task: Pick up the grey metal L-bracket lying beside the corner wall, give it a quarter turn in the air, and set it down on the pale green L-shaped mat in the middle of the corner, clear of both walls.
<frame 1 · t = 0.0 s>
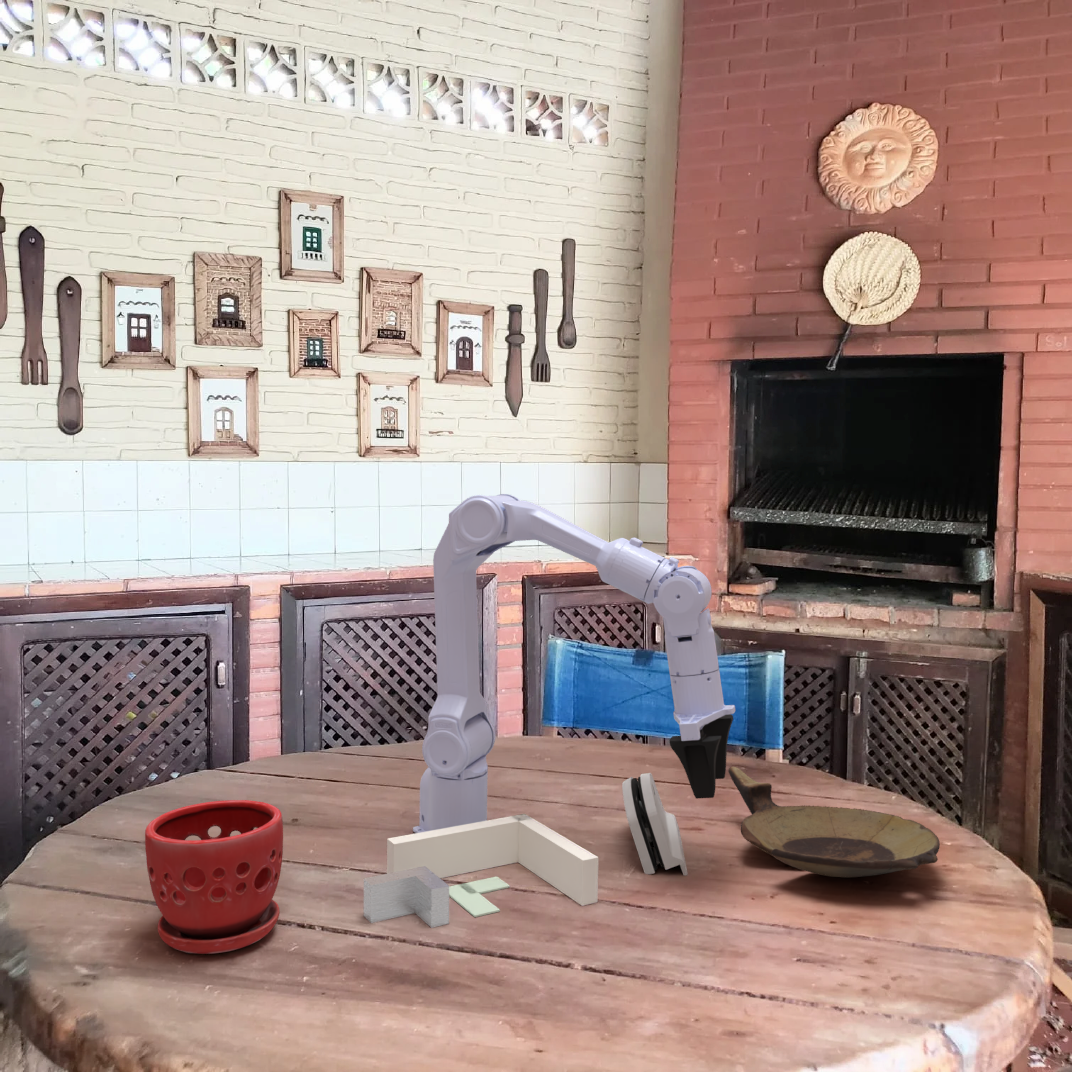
hand: (710, 787, 118), 11 cm above the table, tool pointing down, fingers open, 7 cm apart
bracket: (398, 912, 108), on the table
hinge: (651, 851, 127), on the table
plant pot: (215, 936, 102), on the table
corner wall: (490, 891, 113), on the table
brown frying pan: (826, 861, 125), on the table
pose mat: (470, 900, 111), on the table
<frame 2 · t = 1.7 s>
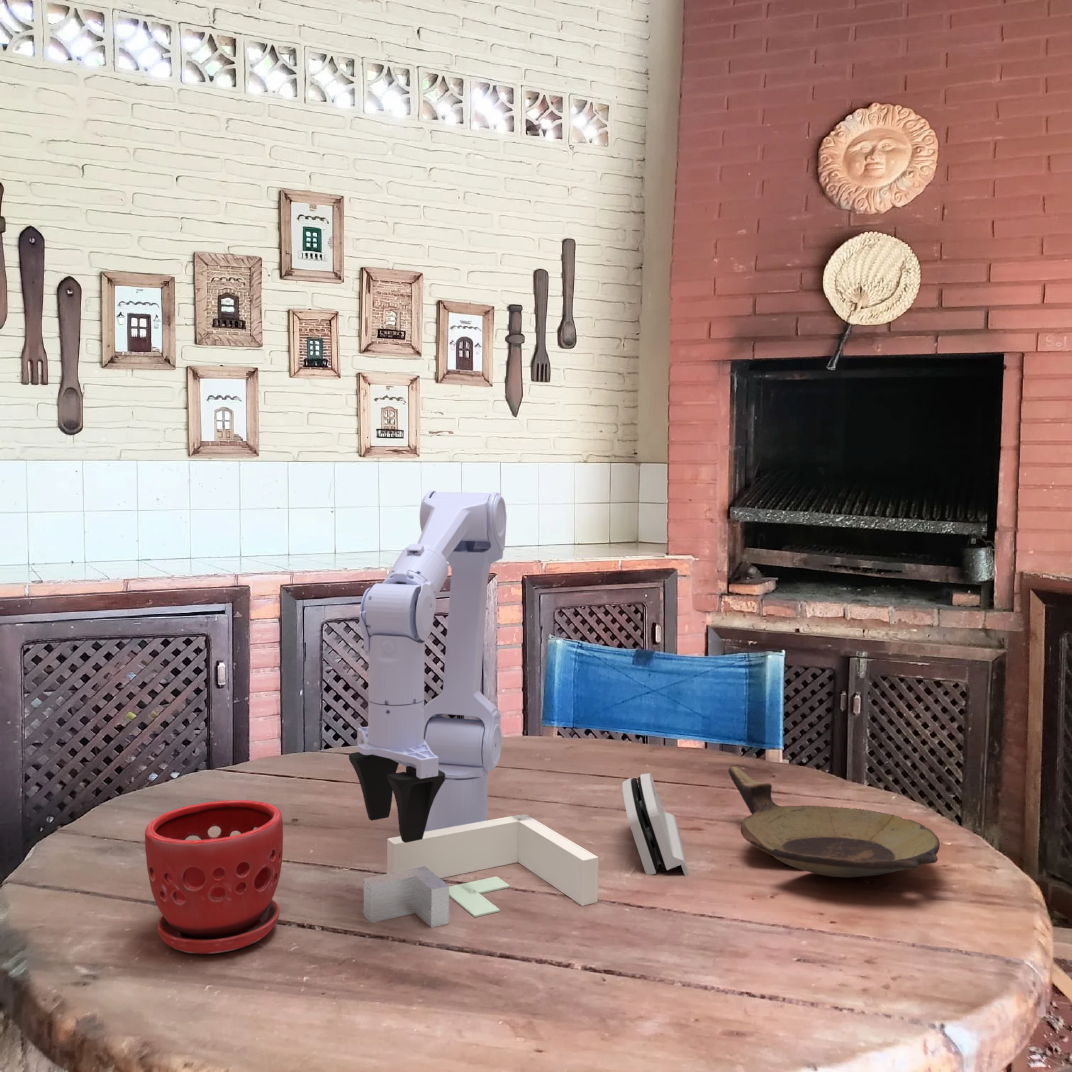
hand: (394, 828, 106), 9 cm above the table, tool pointing down, fingers open, 7 cm apart
nothing on the table moved.
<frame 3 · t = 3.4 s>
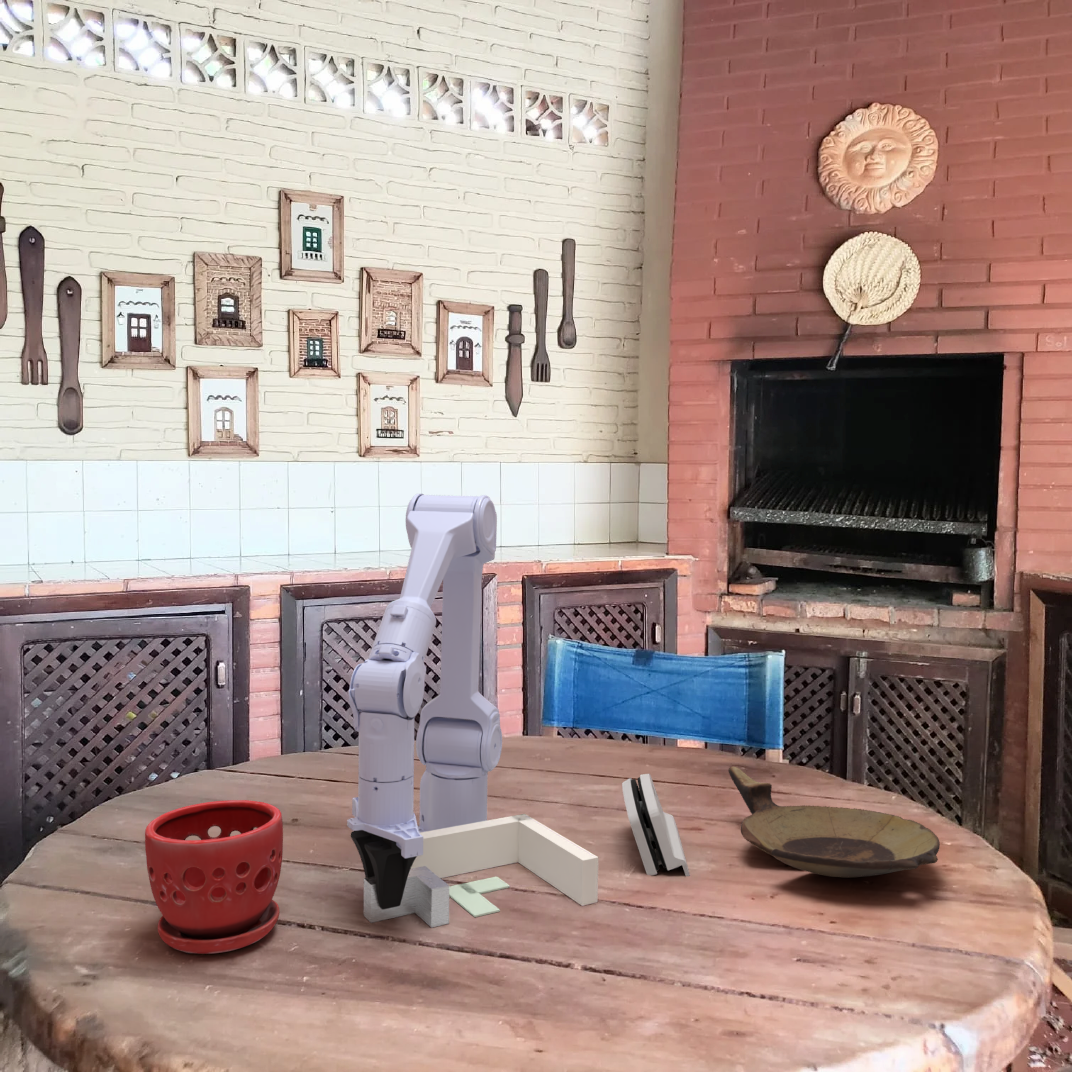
hand: (385, 901, 107), 1 cm above the table, tool pointing down, fingers closed on bracket, 2 cm apart
bracket: (398, 912, 108), on the table, touching gripper
everything else where it was.
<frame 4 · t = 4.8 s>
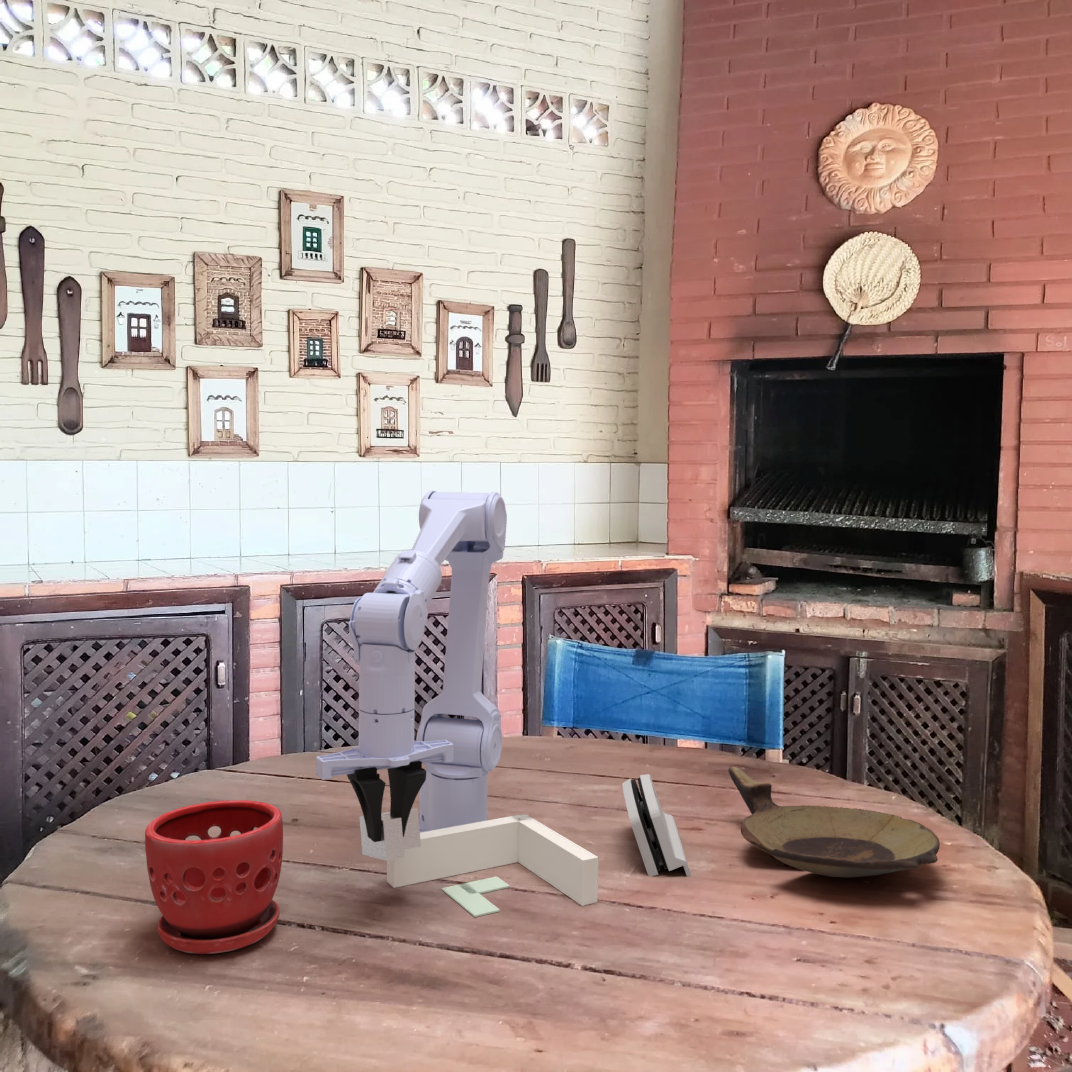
hand: (385, 836, 106), 8 cm above the table, tool pointing down, fingers closed on bracket
bracket: (382, 855, 107), point 6 cm above the table, tilted 14°, touching gripper
everything else where it was.
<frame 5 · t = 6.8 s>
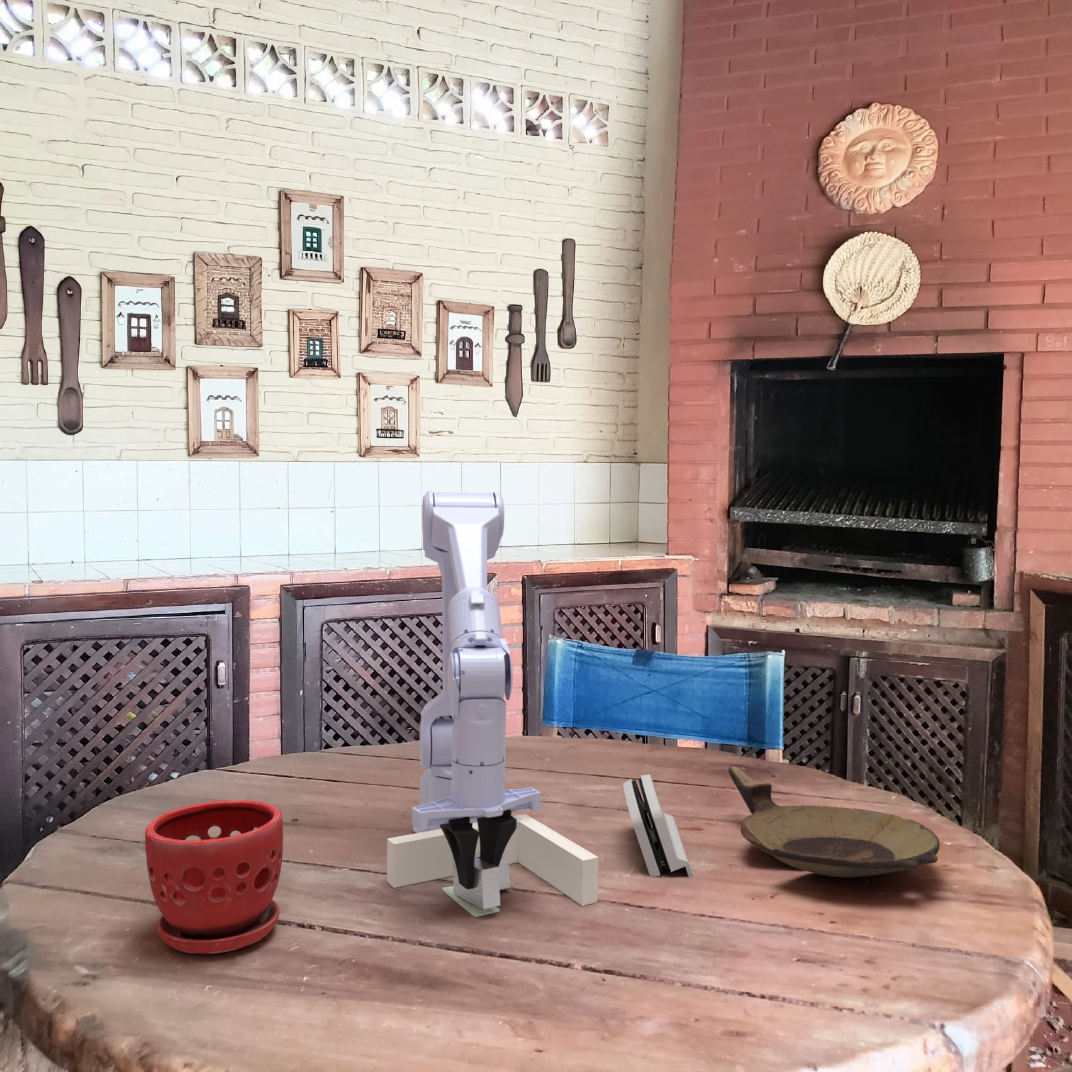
hand: (476, 883, 109), 2 cm above the table, tool pointing down, fingers closed on bracket, 2 cm apart
bracket: (476, 899, 110), point 1 cm above the table, tilted 8°, touching gripper, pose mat
everything else where it was.
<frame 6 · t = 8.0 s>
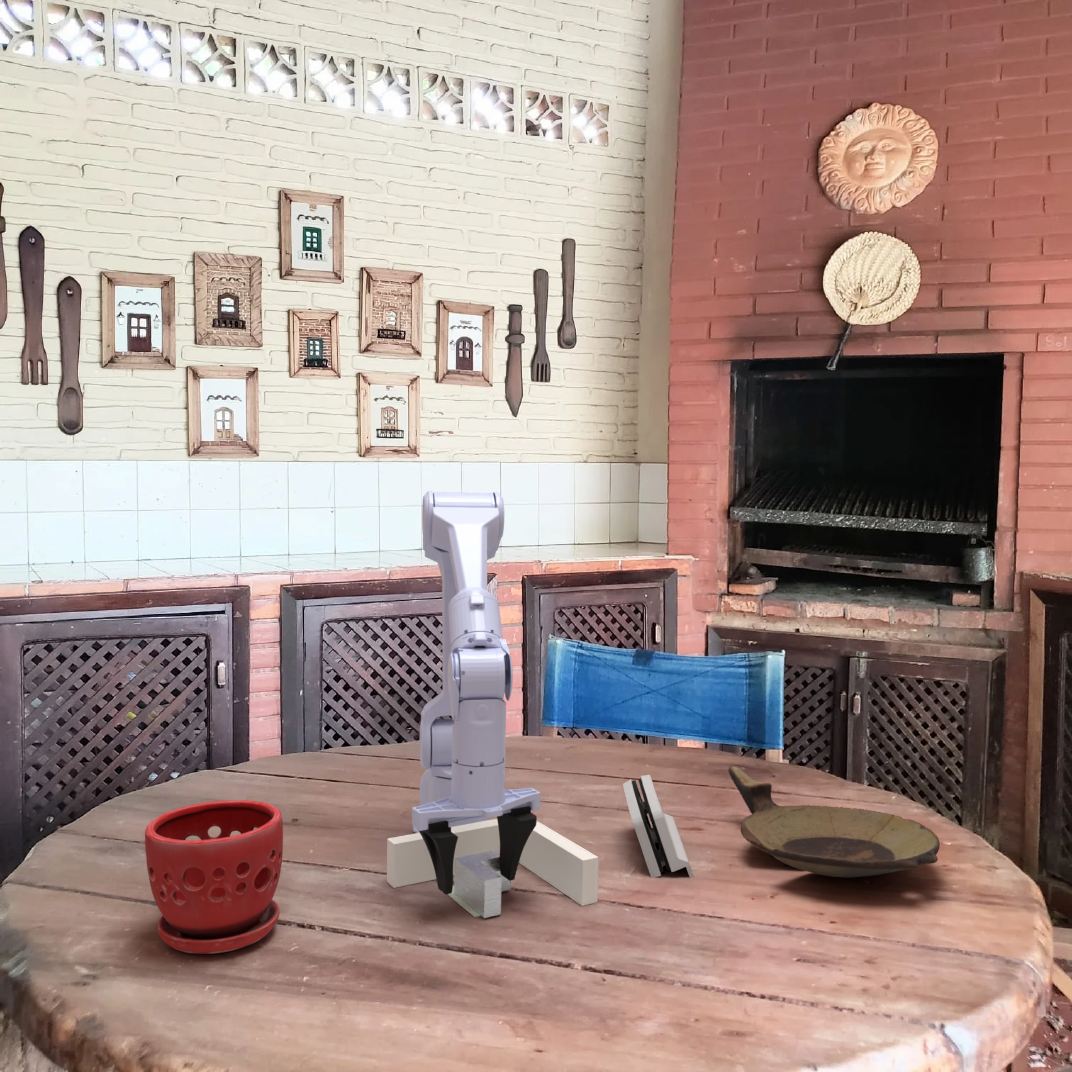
hand: (476, 883, 109), 2 cm above the table, tool pointing down, fingers open, 7 cm apart
bracket: (477, 903, 110), on the table, touching gripper, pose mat
everything else where it was.
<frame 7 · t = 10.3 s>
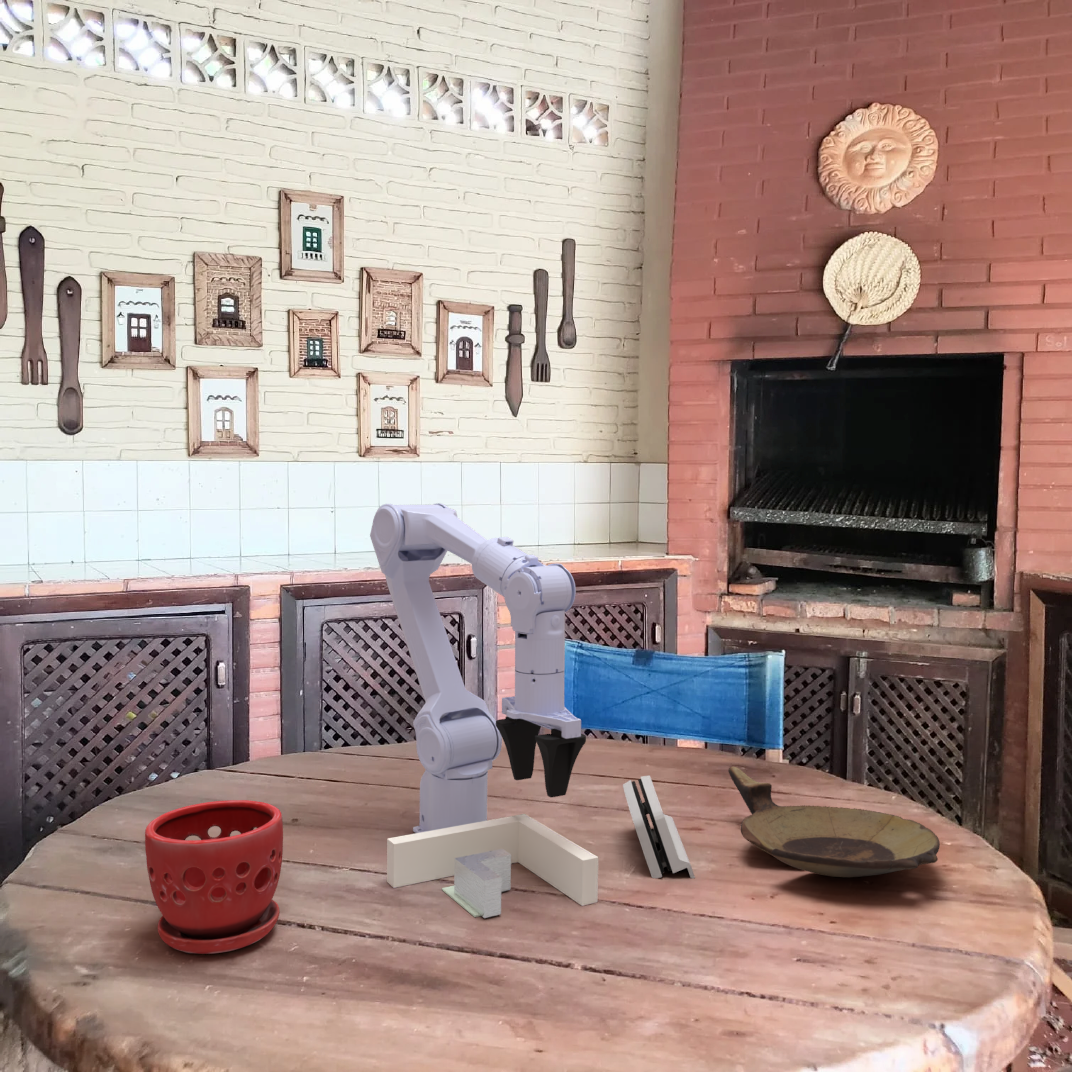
hand: (539, 786, 118), 10 cm above the table, tool pointing down, fingers open, 7 cm apart
bracket: (477, 903, 110), on the table, touching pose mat
at the end: bracket inside the target area (1.0 cm from its centre), on the table; bracket tilted 0°; bracket touching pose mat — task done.
